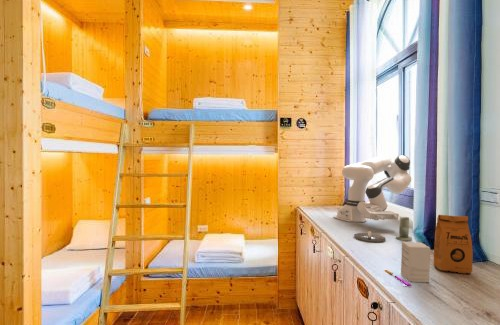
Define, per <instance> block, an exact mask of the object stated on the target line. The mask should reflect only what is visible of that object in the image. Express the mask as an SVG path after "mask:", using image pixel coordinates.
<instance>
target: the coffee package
mask: <svg viewBox="0 0 500 325" xmlns="http://www.w3.org/2000/svg"><path fill="white" fill-rule="evenodd" d="M468 222H469V216H467V215H466V216H465V215H461V216H460V215H445V214H438V216H437V219H436V226H435V231H434V248H433V266H434V267H436V268H437V269H438V270H440V271H443V272H448V271H450V272H451V273H456V272H458V273H457V274H466V273H472V272H473V259H474V258H473V256H474V251H473V241H472V237H471V236H472V235H471V232H470V227H469V223H468Z"/></svg>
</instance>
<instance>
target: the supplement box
mask: <svg viewBox="0 0 500 325" xmlns="http://www.w3.org/2000/svg"><path fill="white" fill-rule="evenodd" d="M400 257H401V258H400V259H401V260H400V263H401V264H400V274H401V276H402V277H403V278H404V277H405V278H406V279H407V280H408V281H407V280H406V281H407V282H409V281H412V282H411V283H426V282H429V283H430V271H431V270H430V268H431V247H430V246H428V245H426V244H424V243H423V242H421V241H419V242H416V241H401V256H400ZM405 278H404V279H405Z"/></svg>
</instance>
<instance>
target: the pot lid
mask: <svg viewBox="0 0 500 325" xmlns="http://www.w3.org/2000/svg"><path fill="white" fill-rule="evenodd" d="M353 236H354V239H355V238H356V239H355V240H357V239H358V240H357V241H361V242H366V243H375V244H378V243H379V244H380V243H385V242H386V239H387V238H386V237H385V236H383V235H380V234H376V233H372V231H370V230H368V231H367V232H356V233H354V234H353Z"/></svg>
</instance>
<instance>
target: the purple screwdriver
mask: <svg viewBox="0 0 500 325" xmlns="http://www.w3.org/2000/svg"><path fill="white" fill-rule="evenodd" d="M384 271H385V273H387V274H389V275H392V276H393V277H394V278H395V279H396V278H397V280H398V281H399V280H400V281H399V282H401V281H402V282H403V283H404V284H405V285H407V286H411V287H412V284H411V283H409V281H407V280H404V279H403V278H401V277H399V276H398V275H394V272H392V271H391V270H389V269H384ZM391 273H392V274H391ZM402 282H401V283H402ZM403 283H402V284H403ZM407 286H406V287H407Z"/></svg>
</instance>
